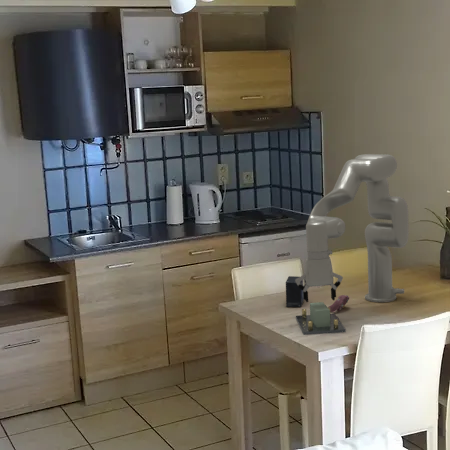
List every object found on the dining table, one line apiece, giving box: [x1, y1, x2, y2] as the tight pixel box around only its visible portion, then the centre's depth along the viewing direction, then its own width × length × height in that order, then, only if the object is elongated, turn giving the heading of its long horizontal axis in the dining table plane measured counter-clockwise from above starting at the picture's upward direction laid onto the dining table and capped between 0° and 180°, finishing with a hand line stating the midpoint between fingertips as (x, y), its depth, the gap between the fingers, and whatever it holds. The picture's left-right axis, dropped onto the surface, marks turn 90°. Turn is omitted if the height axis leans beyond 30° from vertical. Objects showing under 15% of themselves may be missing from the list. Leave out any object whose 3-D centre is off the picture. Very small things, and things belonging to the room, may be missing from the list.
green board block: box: [309, 301, 331, 327], centre depth 261 cm, size 5×11×6 cm, turn 5°
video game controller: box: [328, 294, 350, 313], centre depth 280 cm, size 10×5×7 cm, turn 149°
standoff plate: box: [295, 306, 346, 336], centre depth 262 cm, size 15×20×4 cm
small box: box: [285, 275, 305, 308], centre depth 291 cm, size 11×6×10 cm, turn 168°
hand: (319, 300), depth 261 cm, fingers open, 9 cm apart
